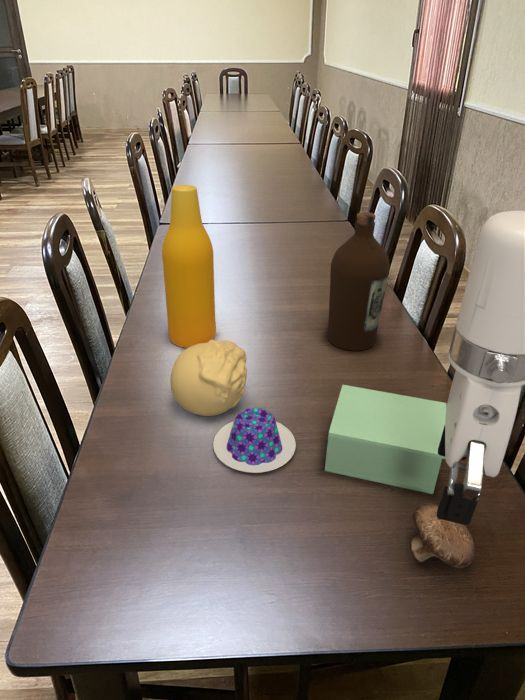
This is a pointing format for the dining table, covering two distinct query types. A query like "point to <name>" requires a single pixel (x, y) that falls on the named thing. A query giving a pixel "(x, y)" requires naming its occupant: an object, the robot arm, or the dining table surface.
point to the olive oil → (357, 288)
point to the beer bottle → (188, 272)
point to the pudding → (254, 442)
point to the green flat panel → (389, 420)
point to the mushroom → (441, 538)
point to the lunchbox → (382, 464)
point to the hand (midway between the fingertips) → (451, 485)
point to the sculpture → (209, 377)
